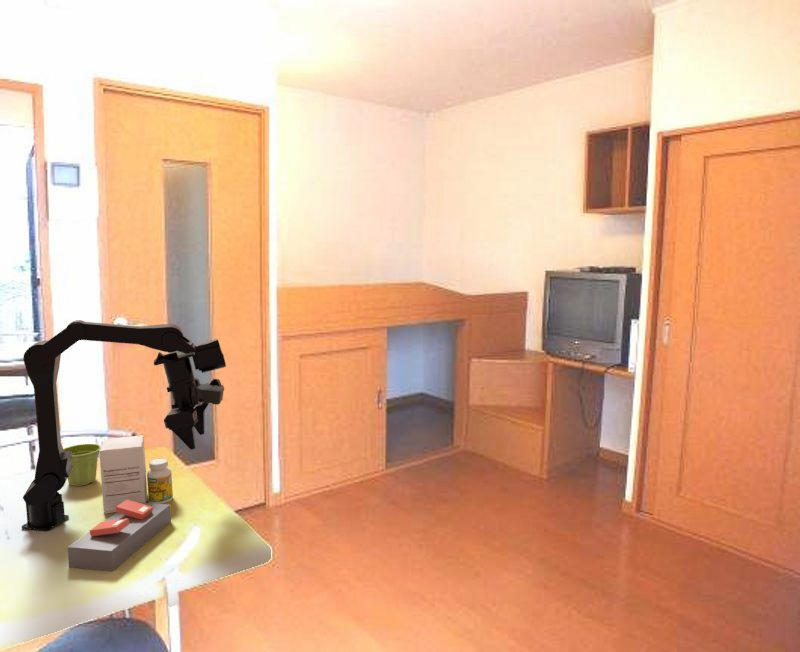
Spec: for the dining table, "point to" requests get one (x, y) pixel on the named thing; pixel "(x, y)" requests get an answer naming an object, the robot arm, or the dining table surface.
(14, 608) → the dining table surface
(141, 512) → the rocker back
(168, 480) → the supplement bottle
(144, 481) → the supplement box
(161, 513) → the long grey block
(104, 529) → the block
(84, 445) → the plant pot
